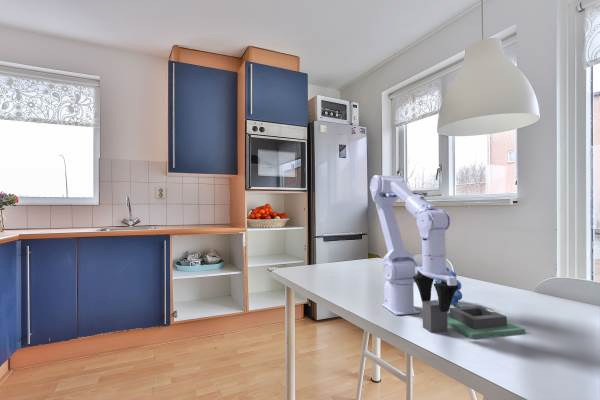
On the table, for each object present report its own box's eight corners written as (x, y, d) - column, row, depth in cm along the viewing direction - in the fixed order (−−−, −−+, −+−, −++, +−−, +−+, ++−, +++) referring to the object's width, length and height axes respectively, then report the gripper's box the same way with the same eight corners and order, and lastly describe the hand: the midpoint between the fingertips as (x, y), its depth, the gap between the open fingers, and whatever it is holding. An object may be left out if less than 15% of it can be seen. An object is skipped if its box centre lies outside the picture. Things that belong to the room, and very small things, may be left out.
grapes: (425, 299, 106) (425, 264, 106) (442, 297, 107) (441, 263, 108) (449, 310, 94) (449, 271, 95) (467, 308, 96) (467, 270, 96)
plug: (422, 327, 81) (422, 300, 81) (438, 325, 82) (438, 299, 82) (431, 332, 77) (430, 304, 78) (447, 331, 78) (447, 303, 79)
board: (434, 318, 88) (434, 305, 88) (482, 313, 91) (481, 301, 91) (471, 338, 74) (470, 323, 74) (525, 332, 77) (525, 318, 77)
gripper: (467, 258, 74) (468, 314, 73) (430, 250, 88) (431, 297, 88) (441, 259, 72) (442, 316, 72) (408, 251, 87) (409, 299, 86)
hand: (434, 306), depth 80 cm, fingers open, 7 cm apart
